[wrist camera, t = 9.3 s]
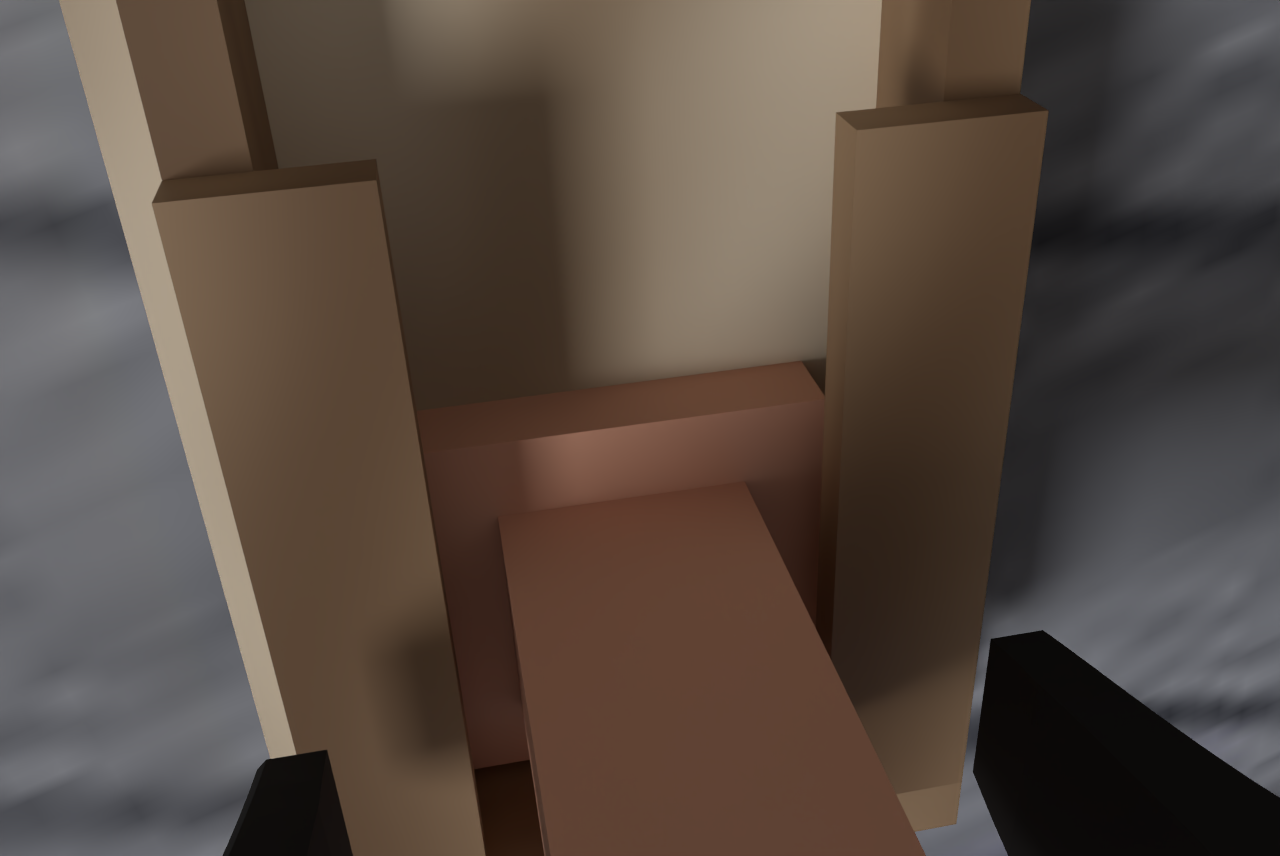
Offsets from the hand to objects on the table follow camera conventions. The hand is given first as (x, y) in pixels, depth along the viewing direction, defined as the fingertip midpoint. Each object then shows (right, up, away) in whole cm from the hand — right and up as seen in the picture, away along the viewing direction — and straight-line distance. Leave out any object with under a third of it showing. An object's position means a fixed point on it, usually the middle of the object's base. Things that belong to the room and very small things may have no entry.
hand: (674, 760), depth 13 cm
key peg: (-1, +2, +3) cm, 4 cm away
